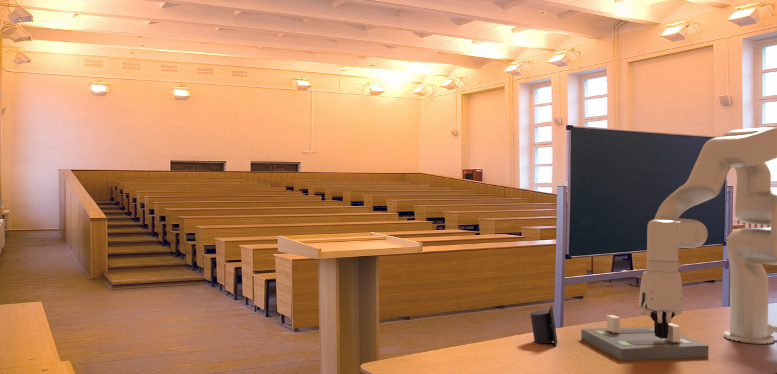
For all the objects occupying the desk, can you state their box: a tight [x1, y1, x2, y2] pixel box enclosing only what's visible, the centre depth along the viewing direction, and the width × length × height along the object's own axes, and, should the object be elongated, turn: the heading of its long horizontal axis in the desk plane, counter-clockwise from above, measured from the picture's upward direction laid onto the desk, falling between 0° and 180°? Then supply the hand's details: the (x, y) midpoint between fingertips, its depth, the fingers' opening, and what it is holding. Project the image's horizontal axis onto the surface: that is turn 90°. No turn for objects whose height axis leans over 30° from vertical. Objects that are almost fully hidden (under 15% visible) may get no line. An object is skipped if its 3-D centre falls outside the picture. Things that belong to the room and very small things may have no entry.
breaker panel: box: [580, 326, 709, 362], centre depth 173 cm, size 24×22×3 cm
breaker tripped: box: [665, 322, 681, 342], centre depth 168 cm, size 2×4×4 cm, turn 9°
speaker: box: [529, 304, 558, 347], centre depth 178 cm, size 8×6×10 cm
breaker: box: [606, 314, 621, 332], centre depth 178 cm, size 2×4×4 cm, turn 9°
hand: (661, 337), depth 167 cm, fingers closed
